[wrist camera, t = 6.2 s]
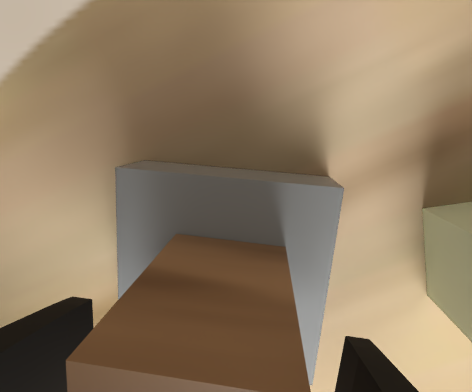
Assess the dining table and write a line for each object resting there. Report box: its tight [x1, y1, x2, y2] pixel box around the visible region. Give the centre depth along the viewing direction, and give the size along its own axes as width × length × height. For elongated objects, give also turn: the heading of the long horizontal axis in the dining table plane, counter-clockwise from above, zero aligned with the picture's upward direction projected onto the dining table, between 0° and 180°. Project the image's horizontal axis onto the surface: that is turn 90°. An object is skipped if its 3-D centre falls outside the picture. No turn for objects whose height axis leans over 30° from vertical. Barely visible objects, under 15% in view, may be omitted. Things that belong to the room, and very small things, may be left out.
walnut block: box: [66, 234, 311, 392], centre depth 8 cm, size 4×4×6 cm
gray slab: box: [115, 160, 344, 385], centre depth 12 cm, size 8×8×3 cm
